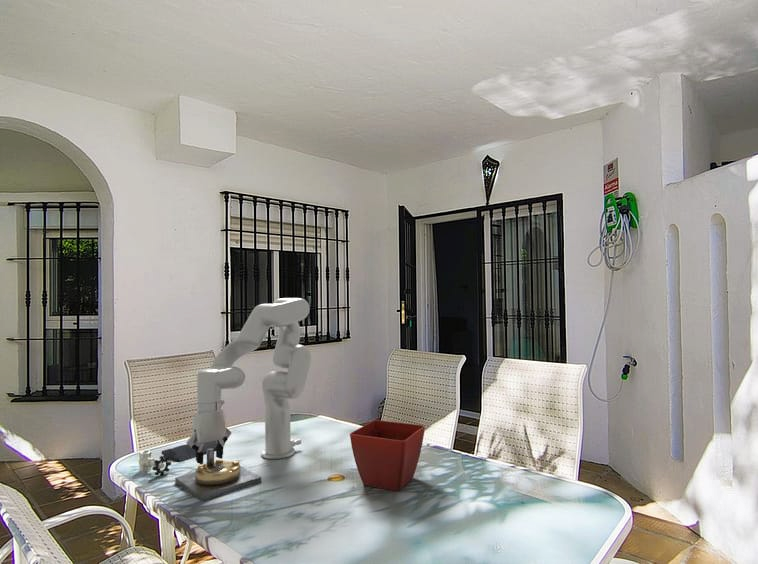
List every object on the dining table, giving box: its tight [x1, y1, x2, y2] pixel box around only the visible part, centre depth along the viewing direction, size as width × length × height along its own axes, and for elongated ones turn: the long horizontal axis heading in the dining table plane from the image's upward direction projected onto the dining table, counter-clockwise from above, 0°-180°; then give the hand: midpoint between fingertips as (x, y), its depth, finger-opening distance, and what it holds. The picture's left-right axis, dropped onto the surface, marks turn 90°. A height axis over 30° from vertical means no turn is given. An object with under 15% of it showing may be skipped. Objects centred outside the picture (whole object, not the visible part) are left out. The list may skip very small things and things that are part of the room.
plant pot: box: [349, 419, 426, 492], centre depth 156 cm, size 19×19×17 cm
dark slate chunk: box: [161, 440, 217, 463], centre depth 190 cm, size 15×22×5 cm
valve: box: [138, 450, 172, 477], centre depth 168 cm, size 7×7×12 cm
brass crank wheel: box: [194, 449, 241, 485], centre depth 158 cm, size 14×14×8 cm
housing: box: [174, 465, 262, 502], centre depth 158 cm, size 20×20×3 cm
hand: (209, 460), depth 162 cm, fingers open, 6 cm apart
